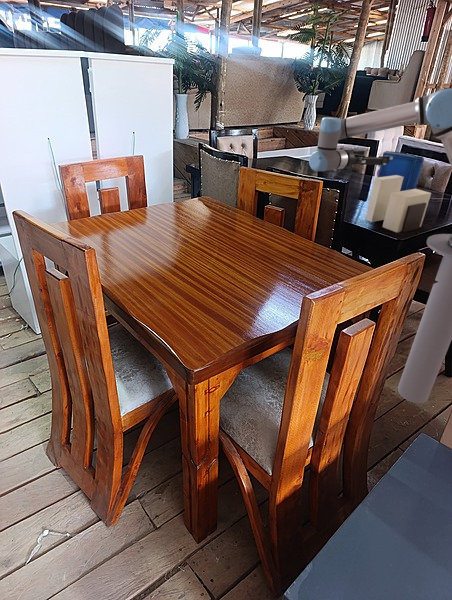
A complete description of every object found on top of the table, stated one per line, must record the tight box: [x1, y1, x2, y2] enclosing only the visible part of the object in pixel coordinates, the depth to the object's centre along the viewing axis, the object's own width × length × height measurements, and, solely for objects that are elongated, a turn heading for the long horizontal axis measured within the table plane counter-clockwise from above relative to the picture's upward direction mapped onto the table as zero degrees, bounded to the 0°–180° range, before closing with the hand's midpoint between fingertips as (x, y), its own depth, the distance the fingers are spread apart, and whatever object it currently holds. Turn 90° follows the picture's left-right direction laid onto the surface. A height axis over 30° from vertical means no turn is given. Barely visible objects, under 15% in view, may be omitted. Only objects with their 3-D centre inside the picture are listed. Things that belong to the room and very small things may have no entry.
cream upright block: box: [382, 188, 432, 233], centre depth 182 cm, size 9×18×16 cm, turn 122°
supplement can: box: [371, 165, 380, 188], centre depth 243 cm, size 8×8×15 cm
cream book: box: [364, 175, 404, 223], centre depth 191 cm, size 4×16×20 cm, turn 122°
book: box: [378, 150, 425, 191], centre depth 223 cm, size 22×7×25 cm, turn 58°
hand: (375, 156), depth 174 cm, fingers open, 13 cm apart
